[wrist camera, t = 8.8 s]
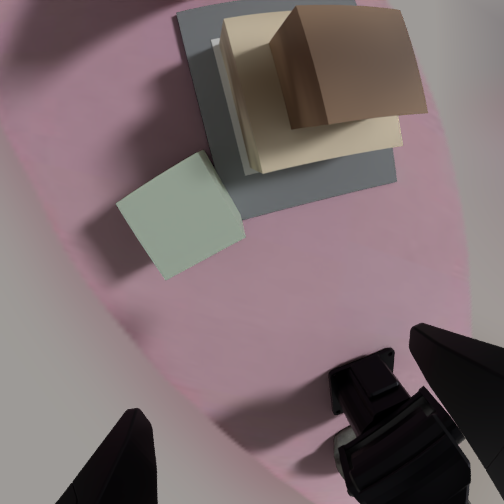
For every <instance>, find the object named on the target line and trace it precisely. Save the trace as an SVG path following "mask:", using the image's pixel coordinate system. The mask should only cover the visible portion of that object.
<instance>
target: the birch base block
mask: <svg viewBox="0 0 504 504" xmlns="http://www.w3.org/2000/svg"><path fill="white" fill-rule="evenodd" d="M290 13H291V11H280V12H268V13H259V14H251V15H244V16H237V17H231V18H225V19H223V25H222V30H221V36H220V41H219V46H220V49H221V53H222V57H223V61H224V65H225V69H226V73H227V76H228V80H229V84H230V88H231V92H232V96H233V100H234V104H235V108H236V112H237V116H238V120H239V124H240V128H241V132H242V136H243V140H244V144H245V148H246V152H247V156H248V161H249V165H250V168H252V169H254V170H256V171H258V172H260V173H262V174H264V173H268V172H272V171H277V170H281V169H285V168H290V167H294V166H298V165H303V164H308V163H312V162H317V161H322V160H327V159H332V158H337V157H342V156H347V155H352V154H358V153H363V152H369V151H375V150H381V149H387V148H393V147H399V146H403V142H402V136H401V130H400V124H399V118H398V116H388V117H379V118H371V119H363V120H355V121H348V122H341V123H335V124H329V125H321V126H313V127H306V128H299V129H293V130H291V126H290V122H289V118H288V114H287V110H286V106H285V102H284V98H283V94H282V90H281V86H280V82H279V78H278V75H277V71H276V67H275V64H274V60H273V56H272V53H271V49H270V46H269V42H270V40H271V39H272V38H273V36H274V35H275V33H276V32H277V30H278V29H279V28H280V26H281V25H282V24H283V22H284V21H285V19H286V18H287V17H288V15H289V14H290Z"/></svg>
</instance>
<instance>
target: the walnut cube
mask: <svg viewBox="0 0 504 504" xmlns="http://www.w3.org/2000/svg"><path fill="white" fill-rule="evenodd" d="M269 46H270V49H271V53H272V56H273V60H274V64H275V67H276V71H277V75H278V78H279V82H280V86H281V90H282V94H283V98H284V102H285V106H286V110H287V114H288V118H289V122H290V126H291V130H293V129H299V128H306V127H313V126H321V125H329V124H335V123H341V122H348V121H355V120H363V119H371V118H379V117H388V116H398V115H409V114H422V113H428V111H427V105H426V100H425V95H424V91H423V86H422V82H421V78H420V74H419V70H418V66H417V62H416V58H415V55H414V51H413V48H412V44H411V41H410V38H409V35H408V31H407V28H406V25H405V22H404V20H403V17H402V14H401V11H400V10H396V9H388V8H379V7H368V6H352V5H296V6H295V7H294V9H293V10H292V11H291V13H290V14H289V15H288V17H287V18H286V19H285V21H284V22H283V24H282V25H281V26H280V28H279V29H278V30H277V32H276V33H275V35H274V36H273V38H272V39H271V40H270V42H269Z"/></svg>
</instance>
